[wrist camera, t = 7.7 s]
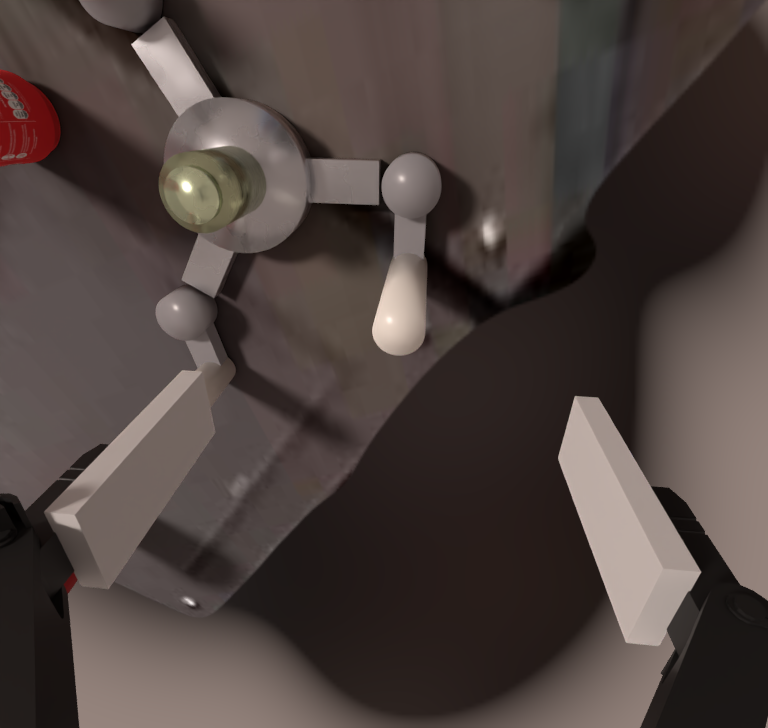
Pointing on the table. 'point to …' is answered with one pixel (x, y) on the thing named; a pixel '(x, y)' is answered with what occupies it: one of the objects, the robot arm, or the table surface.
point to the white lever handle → (125, 13)
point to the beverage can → (25, 122)
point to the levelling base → (256, 137)
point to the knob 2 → (406, 253)
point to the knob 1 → (197, 335)
